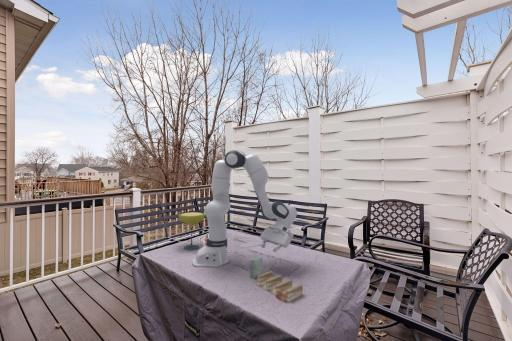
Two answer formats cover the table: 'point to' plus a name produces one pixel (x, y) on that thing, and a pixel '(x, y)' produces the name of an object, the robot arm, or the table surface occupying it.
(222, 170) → the robot arm
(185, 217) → the cocktail glass
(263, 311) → the table surface
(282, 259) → the table surface
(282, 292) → the rack
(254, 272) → the block
